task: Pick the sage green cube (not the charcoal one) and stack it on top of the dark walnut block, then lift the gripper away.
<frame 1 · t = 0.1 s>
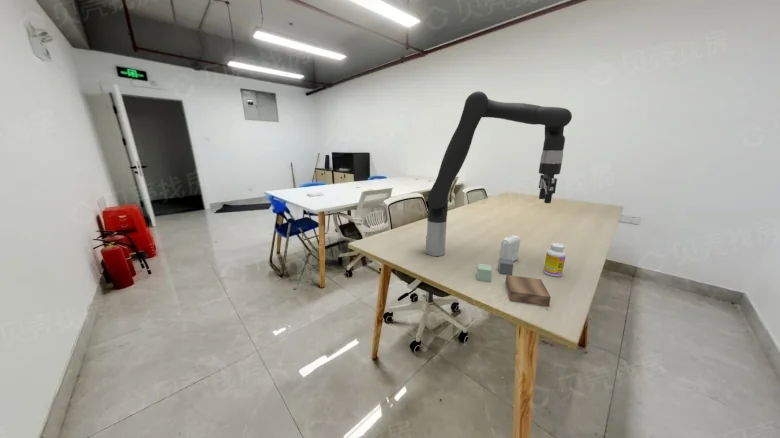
hand: (544, 201, 106), 29 cm above the table, fingers open, 8 cm apart
walnut block: (525, 294, 91), on the table
sage cube: (483, 278, 102), on the table
photo printer: (508, 261, 117), on the table
charcoal cube: (504, 271, 107), on the table
supplement bottle: (552, 273, 105), on the table
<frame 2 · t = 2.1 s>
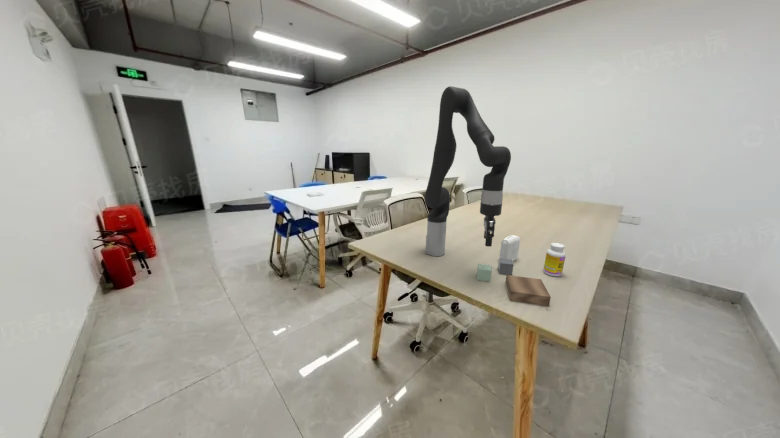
hand: (487, 242, 98), 16 cm above the table, fingers open, 8 cm apart
nothing on the table moved.
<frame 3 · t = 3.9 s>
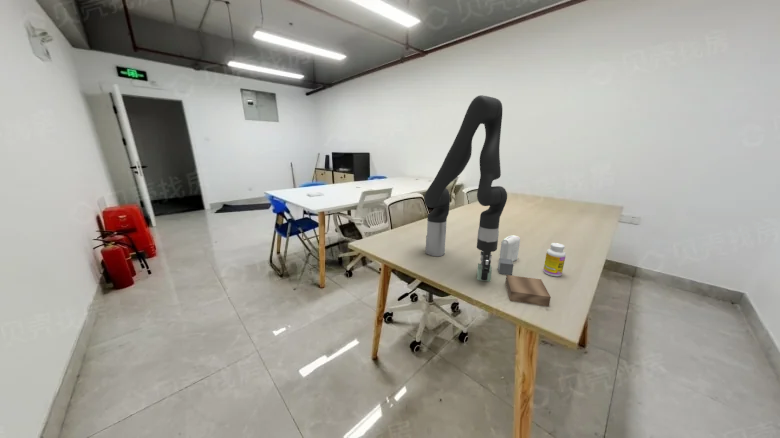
hand: (483, 276, 102), 1 cm above the table, fingers closed on sage cube, 5 cm apart
sage cube: (483, 277, 102), on the table, touching gripper
everything else where it was.
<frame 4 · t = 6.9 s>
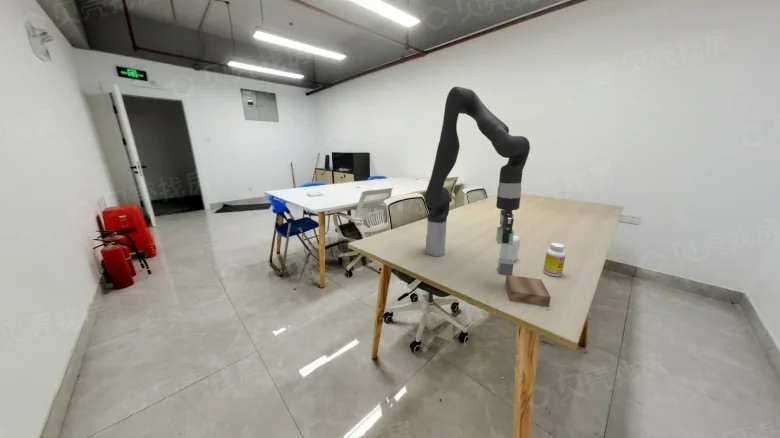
hand: (504, 240, 92), 18 cm above the table, fingers closed on sage cube, 5 cm apart
sage cube: (504, 242, 93), point 17 cm above the table, touching gripper
everything else where it was.
when the fingers open (6 cm above the table, at t = 10.1 s): sage cube drops 2 cm, point 4 cm above the table.
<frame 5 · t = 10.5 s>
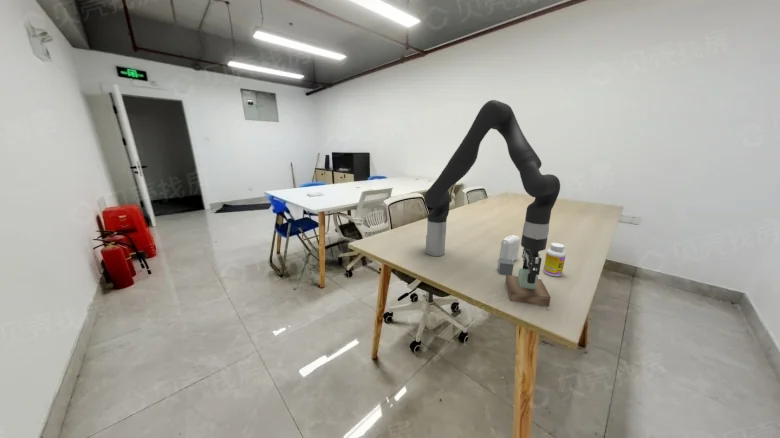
hand: (528, 277, 89), 7 cm above the table, fingers open, 8 cm apart
sage cube: (526, 284, 90), point 4 cm above the table
everything else where it was.
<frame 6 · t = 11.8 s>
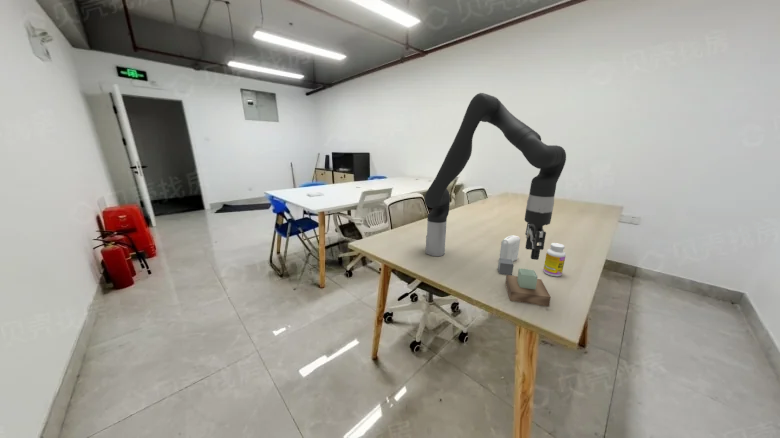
hand: (531, 253, 86), 16 cm above the table, fingers open, 8 cm apart
nothing on the table moved.
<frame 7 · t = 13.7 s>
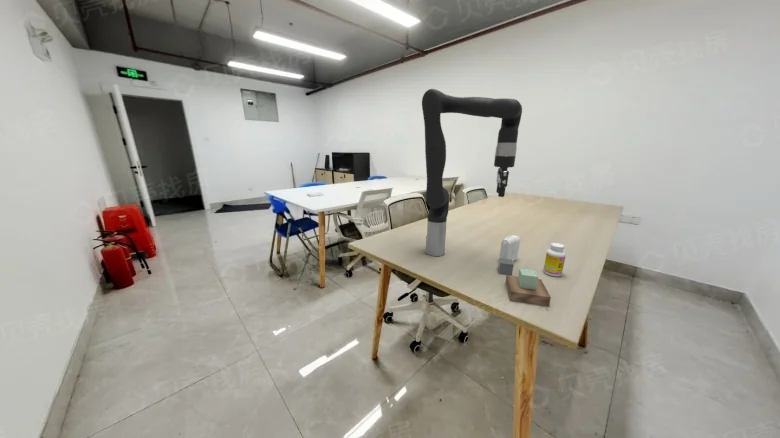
hand: (500, 194, 104), 32 cm above the table, fingers open, 8 cm apart
walnut block: (525, 294, 91), on the table, touching sage cube
sage cube: (526, 285, 90), point 4 cm above the table, touching walnut block
everything else where it was.
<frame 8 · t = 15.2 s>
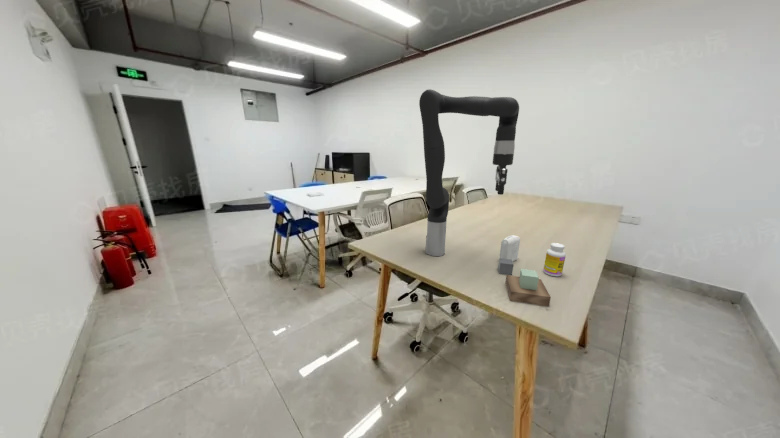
hand: (499, 192, 104), 33 cm above the table, fingers open, 8 cm apart
walnut block: (525, 294, 91), on the table
sage cube: (527, 285, 89), point 4 cm above the table
everything else where it was.
at the end: sage cube inside the target area on the walnut block (0.3 cm from its centre), point 4.1 cm above the walnut block's base; sage cube tilted 1°; the gripper is holding nothing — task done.
